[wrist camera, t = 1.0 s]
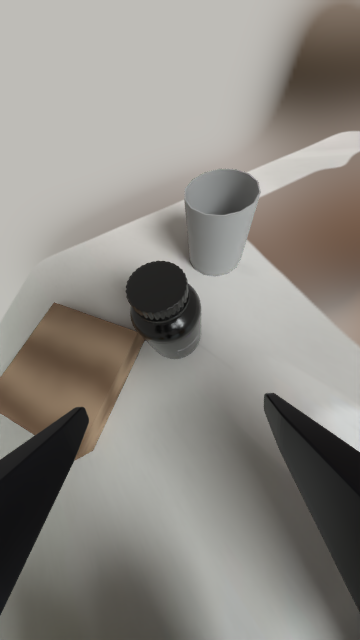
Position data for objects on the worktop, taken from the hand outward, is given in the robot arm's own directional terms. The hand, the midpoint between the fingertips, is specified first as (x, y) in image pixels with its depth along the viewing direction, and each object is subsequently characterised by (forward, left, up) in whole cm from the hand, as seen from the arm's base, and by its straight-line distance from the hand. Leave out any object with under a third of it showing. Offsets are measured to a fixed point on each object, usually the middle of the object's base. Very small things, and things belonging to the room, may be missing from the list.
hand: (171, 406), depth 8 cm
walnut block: (-2, +15, -13) cm, 20 cm away
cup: (+22, +3, -13) cm, 26 cm away
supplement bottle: (+7, +4, -13) cm, 16 cm away
